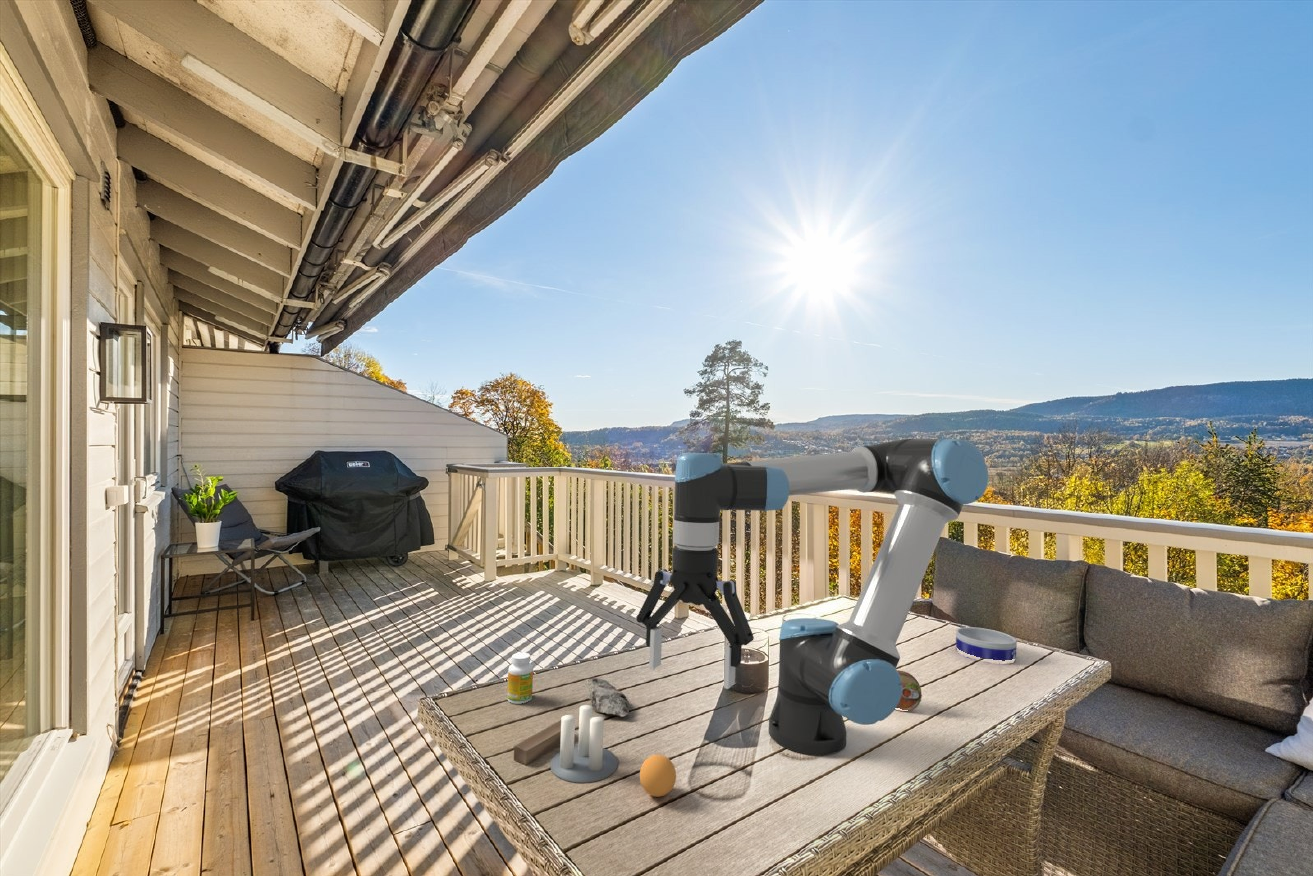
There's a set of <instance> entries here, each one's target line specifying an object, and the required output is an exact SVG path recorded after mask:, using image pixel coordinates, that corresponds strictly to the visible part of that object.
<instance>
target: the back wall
mask: <svg viewBox="0 0 1313 876" xmlns="http://www.w3.org/2000/svg"><path fill="white" fill-rule="evenodd" d="M560 743H561V719H560V720H558V721H557V722H554V723H552V725H550V726H549V725H548V727H545V728H544V729H542V730H540V731H539V732H537V733H535V734H533V735H532V736H529V737H528V738H526V739H524V740H522V741H520V742H519V743H517V744H516V745H514V746H513V761H515V762H517V763H520V764H521V765H524V766H527V765H529V764H531V763H532V762H534V761H536V760H538V759H539V758H541V757H542V756H544V755H545V754H547V753H549V752H550V751H552V750H553V749H555V748H557V747H558V746H560Z"/></svg>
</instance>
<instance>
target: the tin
mask: <svg viewBox="0 0 1313 876" xmlns="http://www.w3.org/2000/svg"><path fill="white" fill-rule="evenodd" d="M896 670H897V671H898V673H899V675H900V677H901V682H900V683H901V684H902V695H901V699H900V701H899V703H898V705H897V707H896V708H900V709H902V710H908V712H911V711H913V710H915V709H916V708H918V707H919V705H920V704H921V702H922V696H923V695H922V693H923V692H922V689H921V686H920V683H919V681H918V679H916V677H915V676H914V675H912V674H911V673H909V672H907V671H904V670H898V669H896Z"/></svg>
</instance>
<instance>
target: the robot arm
mask: <svg viewBox="0 0 1313 876" xmlns="http://www.w3.org/2000/svg"><path fill="white" fill-rule="evenodd" d="M722 459H723V458H722V456H721V454H720V453H708V452H707V453H705V452H682V453H680V454H679V455H678V456H677V459H676V466H675V473H674V475H675V476H674V518H673V531H672V533H673V536H672V542H673V544H674V546H673V548H672V560H671V561H672V563H671V567H672V572H669V571H668V570H667V569H661V570H657V571H655V573H654V579H653V584H652V587H651V589H650V590H649V593H648V594H647V596H646V599H645V600H644V602H643V604H642V606H641V608H640V610H639V612H638V615H637V616H636V622H637V623H641V624H642V625H644V626H645V628H646V633H645V634H646V636H645V637H646V638H645V639H646V640H645V644H646V647H648V648H649V661H648V662H649V663H648V664H649V665H648V667H649V668H648V669H649V670H655V669H657V668H658V667H660V666H661V665H662V649H663V648H662V645H663V644H662V643H663V626H660V625H659V624H660V622H661V621H662V620H663V619H665V617H666V616H667V615H668V614H669V613H670V611H671V610H672V609H673V608H674V607H675V606H676V605H678V603H679V601H681V602H682V603H684V604H693V605H694V606H702V605H703V607H704V609H705V610H707V611H708V612H709V613H710V615H711V617H712V619H714V621H715V623H716V624H717V627H719V629H720V631H721V632H722V634H723V635H724V638H726V640H727V641H728V644H726V645H724V668H723V669H724V670H723V671H724V675H723V689H726V690H729V689H730V688H731V687H732V686H734V685H735V683H736V668H737V667H739V666H740V665H741V663H742V646H747V645H749V644H750V643H752V641H754V640H755V639H754V638H755V636H754V634H753V631H752V629H751V627H750V624H749V622H748V619H747V617H746V614H745V611H744V609H743V606H742V604H741V602H740V599H739V597H738V593H737V592H738V591H737V582H736V580H734V579H730V580H728V581H727V580H719V578H718V571H719V550H718V548H717V546H718V545H719V540H720V537H719V536H720V521H721V520H720V519H721V517H720V515H721V511H756V512H757V511H760V512H761V511H763V512H765V513H766V512H768V511H779V510H781V509H783V508H784V507H785V506H786V504H787V502H788V501H789V497H790V496H797V495H798V496H799V495H807V494H817V493H818V494H819V493H827V492H839V491H845V490H846V491H847V490H857V491H858V492H859V493H862V494H863V493H865V494H866V493H872V492H873V493H874V492H875V493H886V494H887V493H888V494H894V498H895V499H896V501H897V503H898V506H897V508H896V511H895V513H894V515H893V517H892V519H891V522H890V523H889V527H888V529H887V532H886V533H885V536H884V538H883V541H882V543H881V545H880V548H879V550H878V552H877V555H876V557H875V559H874V561H873V564H872V566H871V568H870V570H869V573H868V575H867V578H866V580H865V582H864V585H863V587H862V590H861V592H860V593H859V596H858V599H857V600H856V603H855V606H854V608H853V610H852V612H851V615H850V617H849V619H848V620H847V621H846V622H843V623H840V624H839V623H837V622H836V621H833V620H831V619H830V620H829V619H823V618H807V617H806V618H803V617H802V618H793V619H792V618H791V619H788V620H786V621H784V622H783V623H782V624H781V625H780V633H779V637H778V641H779V658H778V659H779V660H778V661H779V662H778V663H779V664H778V691H777V692H778V693H777V697H776V699H775V702H774V704H773V706H772V710H771V712H770V715H769V719H768V734H769V736H770V738H771V740H772V741H774V742H775V743H776V744H778V745H780V746H781V747H783V748H785V749H787V750H790V751H792V752H797V753H801V754H805V755H810V756H811V755H812V756H825V755H826V756H827V755H834V754H836V753H839V752H841V751H842V750H843V749H845V747H846V745H847V732H848V731H847V728H846V724H845V721H844V718H846V719H847V720H849V721H850V722H852V723H854V724H857V725H862V726H863V725H864V726H869V725H875V724H877V722H882V721H884V720H886V719H887V718H888V717H890V716H891V714H892V713H893V712H894V711H896V710H895V708H896V707H897V705H898V703H899V701H900V699H901V695H902V684H901V683H900V682H901V677H900V675H899V673H898V671H897V670H898V669H897V667H898V665H899V662H900V660H901V656H900V653H899V650H898V648H897V641H898V640H899V636H900V635H901V632H902V630H903V628H904V624H905V622H906V620H907V617H908V615H909V613H910V610H911V608H912V606H913V603H914V600H915V599H916V596H917V593H918V590H919V588H920V587H921V584H922V581H923V579H924V577H925V575H926V572H927V570H928V566H929V564H930V562H931V560H932V557H933V555H934V552H935V550H936V547H937V546H938V543H939V540H940V537H941V535H942V534H943V530H944V528H945V526H946V524H948V523H949V522H952V521H956V520H957V519H959V517H960V514H961V511H962V509H963V507H964V505H969V504H973V503H976V501H979V500H980V499H981V498H982V497H983V495H984V494H985V493H986V490H987V488H988V485H989V469H988V465H987V463H986V460H985V457H984V455H983V453H982V452H981V451H980V449H979V448H978V447H977V446H976V445H975V444H973V443H971V442H970V441H968V440H964V439H958V438H952V437H942V438H902V439H896V440H891V441H886V442H881V443H875V444H869V445H864V446H863V445H860V446H856V447H854V448H853V449H852V450H851V451H848V452H838V453H836V452H835V453H827V454H826V453H824V454H816V455H813V454H812V455H805V456H804V455H802V456H793V457H782V458H781V457H779V458H769V459H759V460H747V461H737V462H725V463H723V460H722ZM669 583H670V584H671V586H672V587H673V591H672V592H671V593H670V594H669V595H668V597H667V598H666V599H665V601H664V602H663V603H662V604H661V605H660V606H659V607H658V609H656V611H655V612H654V610H655V608H656V606H657V604H658V602H659V600H660V598H661V596H662V595H663V592H664V590H665V588H666V586H667V585H669ZM718 590H719V591H720V594H721V595H723V598H724V601H725V604H726V607H727V610H728V612H729V614H730V616H729V615H728V613H727V611H726V610H725V609H724V607H723V606H722V604H721V600H720V598H719V597H718V596H717V594H716V592H717V591H718ZM653 612H654V613H653ZM652 613H653V614H652ZM730 617H731V618H730Z"/></svg>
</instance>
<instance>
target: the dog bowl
mask: <svg viewBox="0 0 1313 876" xmlns="http://www.w3.org/2000/svg"><path fill="white" fill-rule="evenodd" d="M955 636H956V637H955V641H956V642H955V648H956V647H957V648H958V649H959V650H961V651H963V652H965V653H967V654H970V655H974V656H976V657H980V658H984V659H993V660H1002V661H1005V660H1012V659H1015V658H1016V659H1017V644H1018V641H1017V639H1016V638H1015V637H1014V636H1012V635H1011V634H1010V635H1009V634H1007V633H1004V632H1002V631H998V630H994V629H990V628H983V627H975V626H973V627H972V626H971V627H970V626H968V627H967V626H964V627H959V628H957V629H956V630H955Z"/></svg>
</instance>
